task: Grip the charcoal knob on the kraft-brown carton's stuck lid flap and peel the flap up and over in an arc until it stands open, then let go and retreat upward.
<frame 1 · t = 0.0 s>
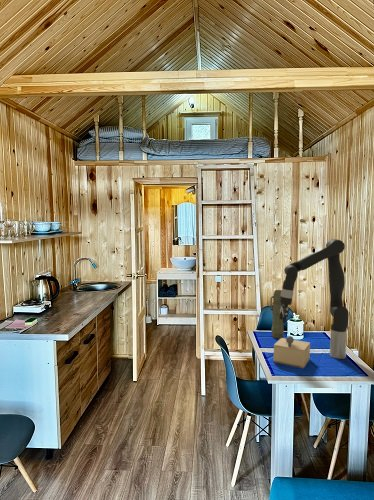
hand: (282, 321, 234), 22 cm above the table, tool pointing down, fingers open, 8 cm apart
carton: (291, 360, 226), on the table
carton flap: (292, 339, 225), point 14 cm above the table, hinge at 0.0°
thermos: (277, 336, 275), on the table
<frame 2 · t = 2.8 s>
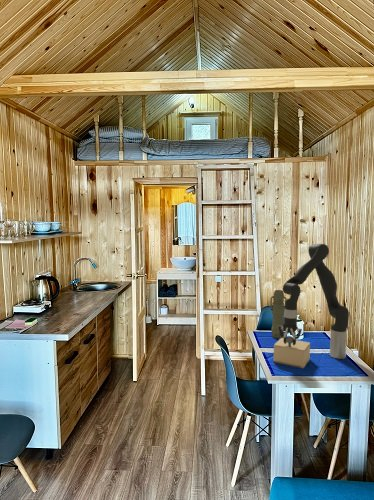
hand: (289, 344, 220), 12 cm above the table, tool pointing down, fingers closed on carton flap, 4 cm apart
carton flap: (292, 339, 225), point 14 cm above the table, hinge at 0.0°, touching gripper
everything else where it was.
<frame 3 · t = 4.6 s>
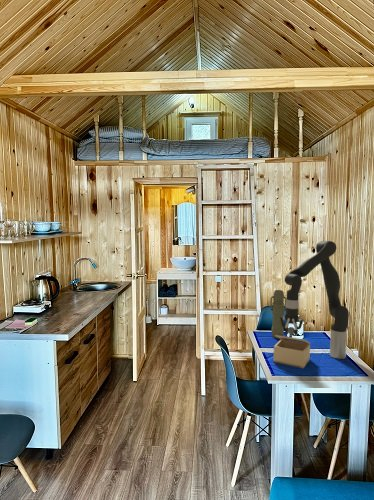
hand: (291, 334, 222), 17 cm above the table, tool pointing down, fingers closed on carton flap, 4 cm apart
carton flap: (293, 334, 226), point 16 cm above the table, hinge at 21.8°, touching gripper
everything else where it was.
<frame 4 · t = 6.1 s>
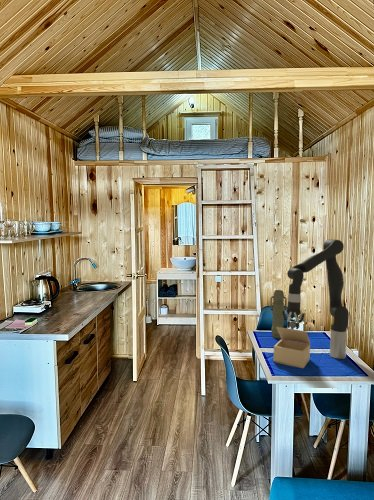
hand: (292, 328, 225), 20 cm above the table, tool pointing down, fingers closed on carton flap, 4 cm apart
carton flap: (294, 330, 228), point 18 cm above the table, hinge at 40.0°, touching gripper
everything else where it was.
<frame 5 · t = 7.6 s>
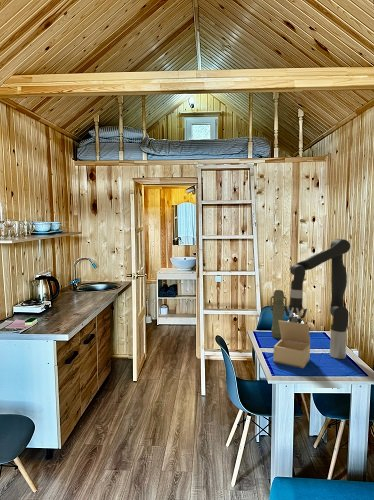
hand: (295, 323, 229), 22 cm above the table, tool pointing down, fingers closed on carton flap, 4 cm apart
carton flap: (295, 328, 230), point 19 cm above the table, hinge at 59.3°, touching gripper
everything else where it was.
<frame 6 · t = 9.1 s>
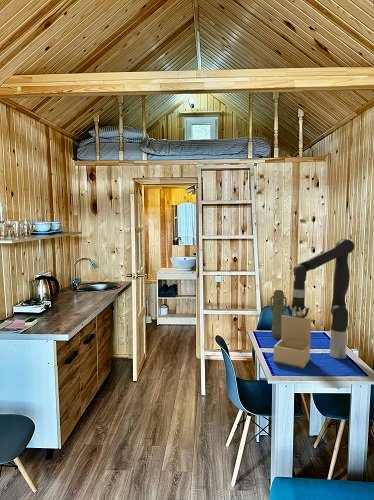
hand: (297, 322, 234), 21 cm above the table, tool pointing down, fingers closed on carton flap, 4 cm apart
carton flap: (296, 327, 233), point 18 cm above the table, hinge at 83.2°, touching gripper
everything else where it was.
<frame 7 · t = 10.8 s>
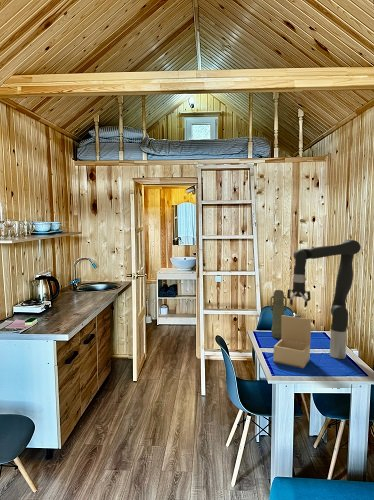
hand: (298, 306, 235), 32 cm above the table, tool pointing down, fingers open, 8 cm apart
carton flap: (297, 327, 234), point 18 cm above the table, hinge at 83.8°
everything else where it was.
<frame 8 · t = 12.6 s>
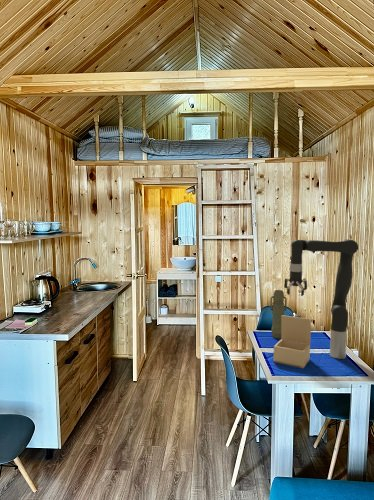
hand: (295, 295, 238), 38 cm above the table, tool pointing down, fingers open, 8 cm apart
nothing on the table moved.
at the end: carton flap at +84° (first picture: +0°); the gripper is holding nothing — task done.
